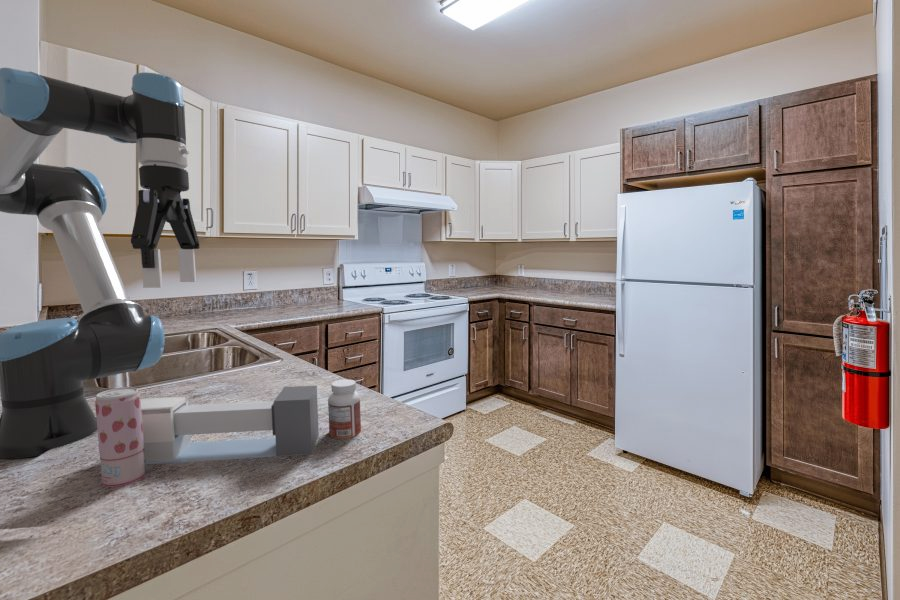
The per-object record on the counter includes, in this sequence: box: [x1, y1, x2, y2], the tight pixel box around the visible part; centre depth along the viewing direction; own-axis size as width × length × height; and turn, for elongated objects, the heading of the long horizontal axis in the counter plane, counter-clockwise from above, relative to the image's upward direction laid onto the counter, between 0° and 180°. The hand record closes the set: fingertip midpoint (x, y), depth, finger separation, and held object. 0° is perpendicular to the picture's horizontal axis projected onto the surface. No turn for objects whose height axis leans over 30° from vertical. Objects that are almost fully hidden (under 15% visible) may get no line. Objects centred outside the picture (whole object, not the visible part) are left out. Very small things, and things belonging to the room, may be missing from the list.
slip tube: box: [173, 400, 275, 436], centre depth 79 cm, size 24×5×5 cm, turn 98°
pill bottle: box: [327, 379, 362, 439], centre depth 87 cm, size 6×6×11 cm
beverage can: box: [94, 386, 147, 488], centre depth 69 cm, size 6×6×15 cm
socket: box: [273, 385, 320, 457], centre depth 81 cm, size 6×8×10 cm
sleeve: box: [140, 395, 192, 463], centre depth 77 cm, size 9×7×9 cm
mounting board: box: [146, 435, 319, 466], centre depth 80 cm, size 32×8×1 cm, turn 98°
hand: (172, 284), depth 82 cm, fingers open, 13 cm apart
